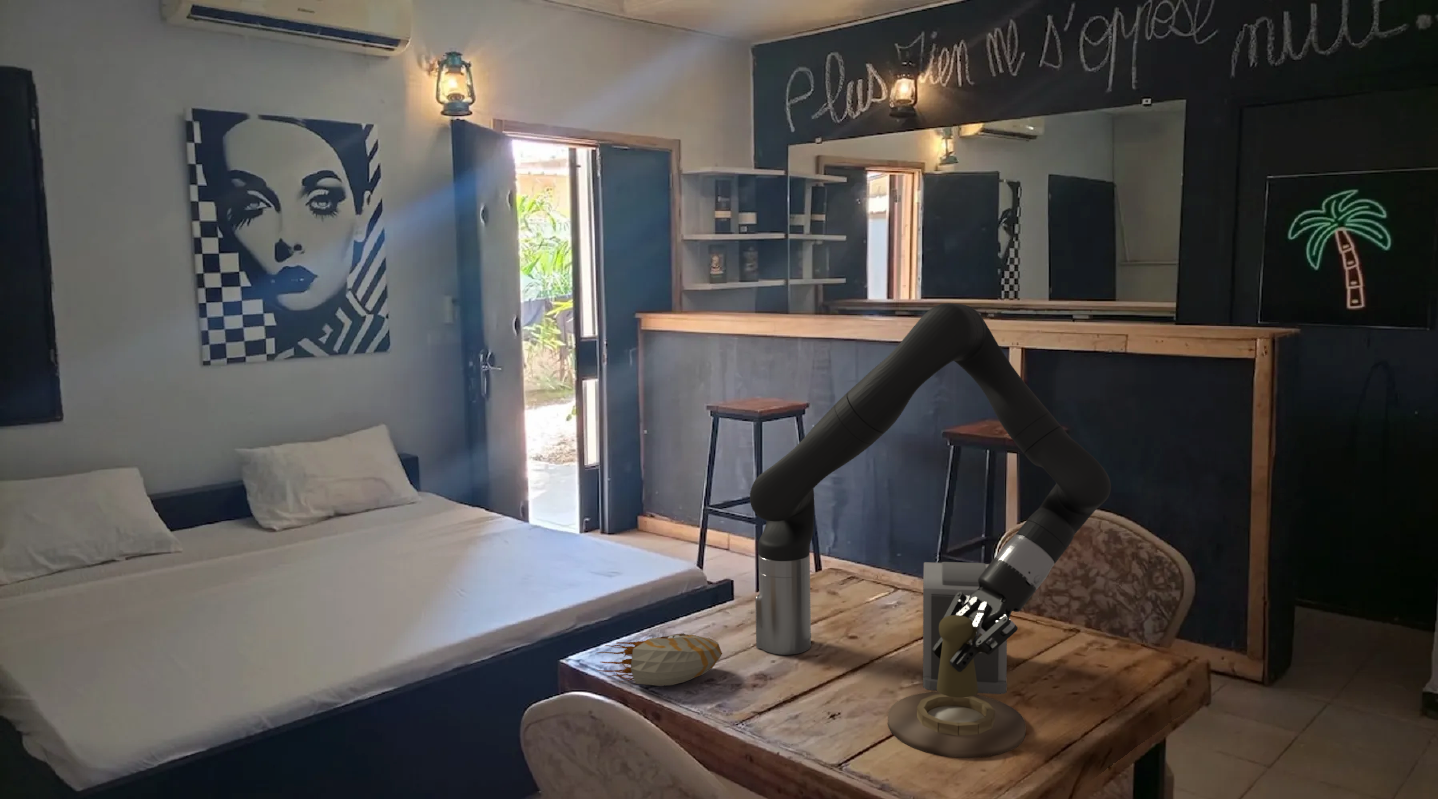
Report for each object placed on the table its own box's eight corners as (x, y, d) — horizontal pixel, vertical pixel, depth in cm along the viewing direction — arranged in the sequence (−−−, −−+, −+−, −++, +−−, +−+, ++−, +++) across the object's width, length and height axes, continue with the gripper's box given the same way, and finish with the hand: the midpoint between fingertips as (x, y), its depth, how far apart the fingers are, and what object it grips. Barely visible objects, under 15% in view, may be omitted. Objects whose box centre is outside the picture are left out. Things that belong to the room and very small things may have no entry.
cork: (980, 683, 155) (979, 612, 154) (976, 699, 150) (975, 625, 149) (939, 679, 157) (938, 609, 156) (934, 695, 152) (933, 622, 151)
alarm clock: (1007, 694, 165) (1008, 583, 163) (923, 689, 168) (923, 580, 166) (999, 652, 183) (1000, 551, 181) (923, 648, 186) (923, 549, 184)
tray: (872, 744, 149) (872, 726, 149) (905, 691, 168) (905, 675, 167) (1015, 767, 141) (1015, 749, 141) (1033, 709, 159) (1033, 692, 159)
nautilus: (582, 693, 171) (617, 664, 185) (706, 698, 165) (732, 667, 179) (579, 646, 170) (613, 621, 185) (703, 649, 164) (729, 622, 179)
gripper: (974, 545, 160) (905, 631, 158) (1029, 570, 147) (955, 664, 145) (1004, 574, 163) (936, 659, 160) (1061, 601, 149) (988, 694, 147)
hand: (945, 661), depth 153 cm, fingers closed on cork, 4 cm apart
